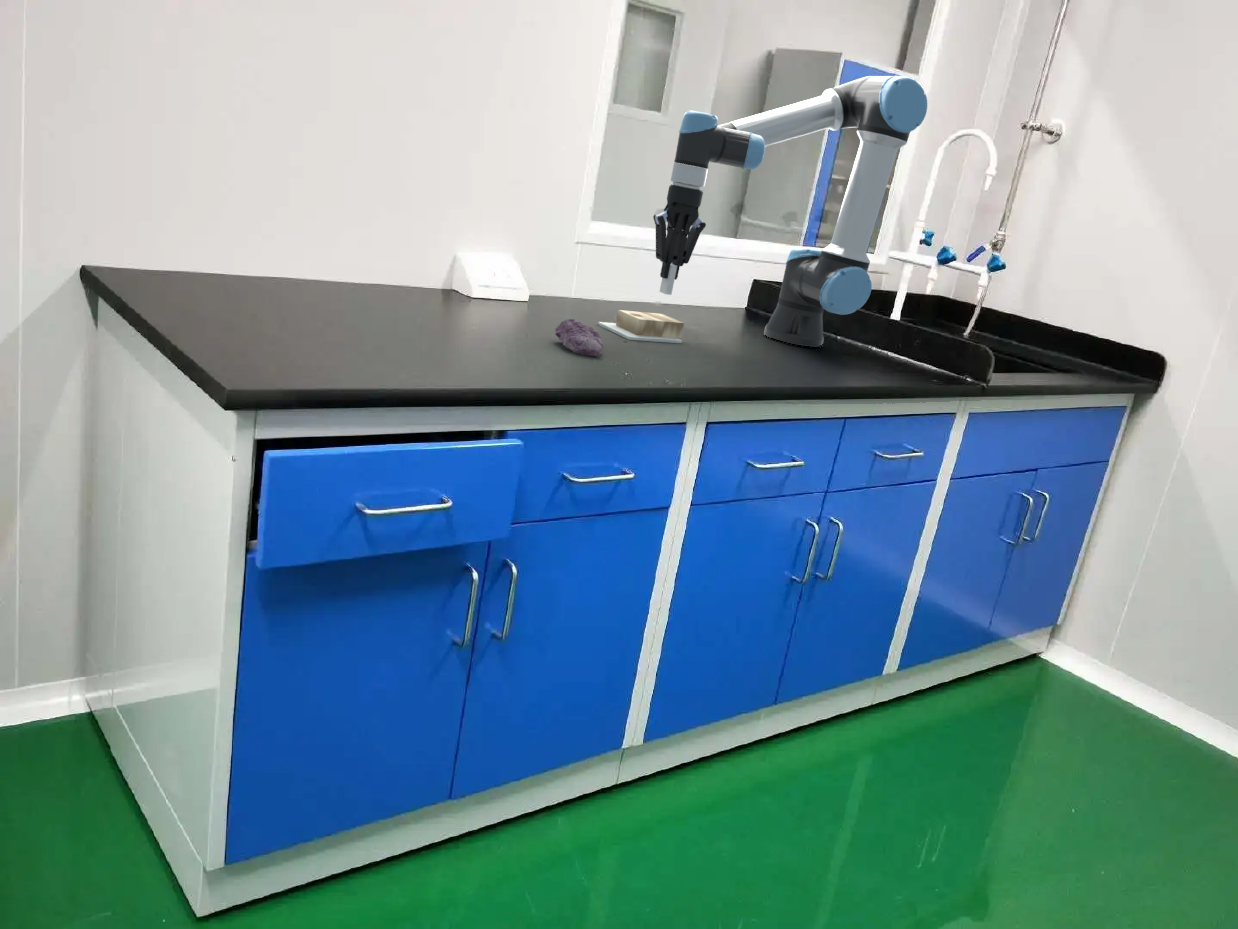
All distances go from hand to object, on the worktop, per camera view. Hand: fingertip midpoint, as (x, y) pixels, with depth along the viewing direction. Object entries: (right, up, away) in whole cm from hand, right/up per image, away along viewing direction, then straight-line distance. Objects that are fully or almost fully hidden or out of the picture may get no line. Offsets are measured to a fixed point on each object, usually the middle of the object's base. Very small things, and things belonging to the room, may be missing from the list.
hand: (665, 293), depth 227 cm
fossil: (-19, -16, -28) cm, 37 cm away
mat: (-6, -9, 0) cm, 11 cm away
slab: (+2, -7, +4) cm, 8 cm away
